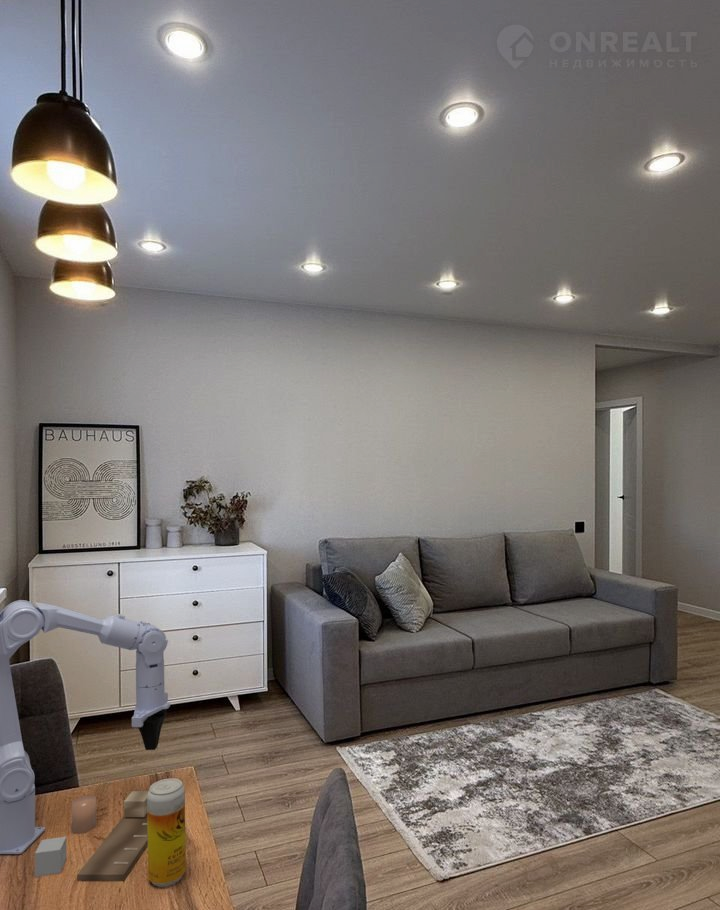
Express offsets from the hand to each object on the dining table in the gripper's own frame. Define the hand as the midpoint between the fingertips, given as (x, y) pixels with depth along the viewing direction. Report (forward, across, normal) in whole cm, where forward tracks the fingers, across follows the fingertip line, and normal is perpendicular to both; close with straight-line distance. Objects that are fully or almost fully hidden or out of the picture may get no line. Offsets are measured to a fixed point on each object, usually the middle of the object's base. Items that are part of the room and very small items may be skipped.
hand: (151, 748), depth 129 cm
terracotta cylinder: (+10, -10, +9) cm, 17 cm away
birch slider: (+9, -7, -1) cm, 12 cm away
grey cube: (+10, -23, +9) cm, 27 cm away
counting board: (+10, -15, -2) cm, 19 cm away
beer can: (+11, -25, -13) cm, 30 cm away
